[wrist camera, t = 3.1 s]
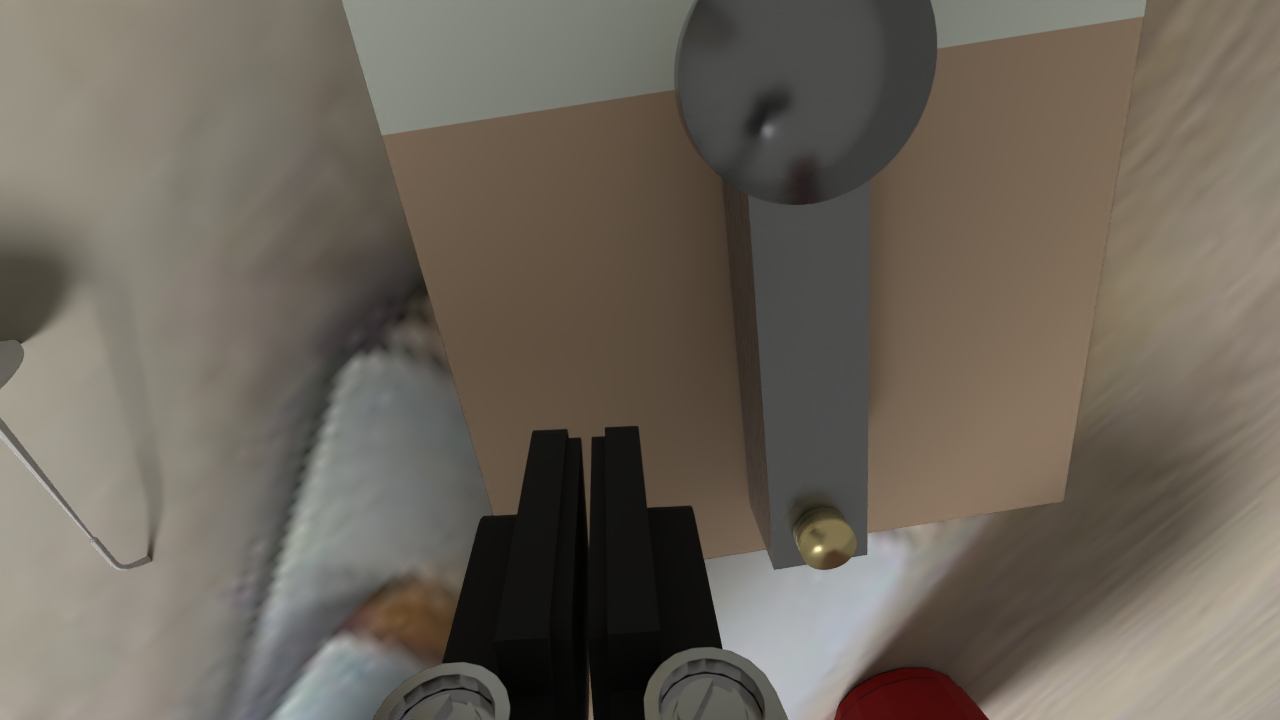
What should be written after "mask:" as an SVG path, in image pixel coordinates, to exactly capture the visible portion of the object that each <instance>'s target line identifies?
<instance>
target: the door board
mask: <svg viewBox="0 0 1280 720" xmlns="http://www.w3.org/2000/svg"><path fill="white" fill-rule="evenodd" d="M1146 1H1147V0H931V4H932V8H933V12H934V16H935V22H936V30H937V61H936V70H935V76H934V80H933V85H932V89H931V93H930V95H929V98H928V101H927V104H926V107H925V110H924V112H923V114H922V116H921V118H920V120H919V122H918V125H917V126H916V128H915V130H914V131H913V133H912V135H911V136H910V138H909V140H908V141H907V142H906V144H905V145H904V146H903V148H902V149H901V150H900V151H899V153H898V154H897V155H896V156H895V157H894V158H893V159H892V160H891V162H890V163H889V164H888V165H887V166H886V167H885V168H884V169H882V170H881V171H880V172H879V173H878V174H876V175H875V176H874V177H873V178H872V179H871V188H870V298H869V407H868V517H867V533H871V532H877V531H883V530H889V529H896V528H902V527H908V526H914V525H920V524H926V523H933V522H939V521H945V520H951V519H957V518H964V517H970V516H976V515H982V514H988V513H995V512H1001V511H1007V510H1013V509H1019V508H1026V507H1032V506H1038V505H1044V504H1050V503H1057V502H1063V500H1064V494H1065V488H1066V482H1067V476H1068V470H1069V464H1070V458H1071V452H1072V446H1073V440H1074V434H1075V428H1076V422H1077V416H1078V410H1079V404H1080V398H1081V392H1082V386H1083V380H1084V374H1085V368H1086V362H1087V356H1088V350H1089V344H1090V338H1091V332H1092V326H1093V320H1094V314H1095V308H1096V302H1097V296H1098V290H1099V284H1100V278H1101V272H1102V266H1103V260H1104V254H1105V248H1106V242H1107V236H1108V230H1109V224H1110V218H1111V212H1112V206H1113V200H1114V194H1115V187H1116V181H1117V175H1118V169H1119V163H1120V157H1121V151H1122V145H1123V139H1124V133H1125V127H1126V121H1127V115H1128V109H1129V103H1130V97H1131V91H1132V85H1133V79H1134V73H1135V67H1136V61H1137V55H1138V49H1139V43H1140V37H1141V31H1142V25H1143V19H1144V13H1145V7H1146ZM693 2H694V0H342V3H343V6H344V9H345V13H346V16H347V20H348V23H349V26H350V30H351V33H352V37H353V40H354V43H355V47H356V50H357V53H358V57H359V60H360V64H361V67H362V70H363V74H364V77H365V81H366V84H367V87H368V91H369V94H370V98H371V101H372V104H373V108H374V111H375V115H376V118H377V121H378V125H379V128H380V132H381V135H382V138H383V142H384V145H385V148H386V152H387V155H388V159H389V162H390V165H391V169H392V172H393V176H394V179H395V182H396V186H397V189H398V193H399V196H400V199H401V203H402V206H403V210H404V213H405V216H406V220H407V223H408V227H409V230H410V233H411V237H412V240H413V243H414V247H415V250H416V254H417V257H418V260H419V264H420V267H421V271H422V274H423V277H424V281H425V284H426V288H427V291H428V294H429V298H430V301H431V305H432V308H433V311H434V315H435V318H436V322H437V325H438V328H439V332H440V335H441V338H442V342H443V345H444V349H445V352H446V355H447V359H448V362H449V366H450V369H451V372H452V376H453V379H454V383H455V386H456V389H457V393H458V396H459V400H460V403H461V406H462V410H463V413H464V416H465V420H466V423H467V427H468V430H469V433H470V437H471V440H472V444H473V447H474V450H475V454H476V457H477V461H478V464H479V467H480V471H481V474H482V478H483V481H484V484H485V488H486V491H487V495H488V498H489V501H490V505H491V508H492V511H493V515H494V516H495V515H514V514H517V512H518V506H519V501H520V495H521V490H522V484H523V479H524V474H525V468H526V463H527V457H528V452H529V446H530V441H531V435H532V431H534V430H554V429H567V430H568V435H569V438H577V437H581V441H582V454H583V468H584V483H585V498H586V512H587V527H588V542H589V531H590V486H591V441H592V437H599V436H605V427H620V426H638V427H639V435H640V445H641V454H642V463H643V473H644V482H645V492H646V501H647V508H651V507H670V506H690V505H691V506H692V508H693V511H694V515H695V519H696V524H697V529H698V534H699V539H700V543H701V548H702V553H703V558H704V559H710V558H716V557H722V556H728V555H735V554H741V553H747V552H753V551H759V550H765V549H766V547H765V544H764V541H763V539H762V536H761V533H760V531H759V528H758V525H757V523H756V520H755V517H754V515H753V512H752V509H751V507H750V501H749V489H748V477H747V466H746V454H745V442H744V431H743V419H742V408H741V396H740V384H739V373H738V361H737V349H736V338H735V326H734V314H733V303H732V291H731V279H730V268H729V256H728V244H727V233H726V221H725V209H724V198H723V186H722V178H721V177H720V176H719V175H717V174H716V173H715V172H714V171H713V170H712V169H711V168H710V167H709V166H708V165H706V163H705V162H704V161H703V160H702V158H701V157H700V156H699V155H698V154H697V152H696V151H695V149H694V147H693V146H692V144H691V142H690V141H689V139H688V137H687V135H686V132H685V130H684V128H683V126H682V123H681V119H680V116H679V113H678V109H677V104H676V98H675V91H674V65H675V55H676V50H677V44H678V39H679V36H680V33H681V30H682V27H683V23H684V21H685V19H686V16H687V14H688V12H689V10H690V8H691V5H692V4H693Z"/></svg>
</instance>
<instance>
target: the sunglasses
mask: <svg viewBox="0 0 1280 720" xmlns="http://www.w3.org/2000/svg"><path fill="white" fill-rule="evenodd" d="M23 357H24V350H23V348H22V346H21V344H20V343H19V342H18V341H17V340H8V341H0V389H1V388H2V387H3V386H4V385H5V384H6V383H7V382H8V381H9V380H10V379H11V377H12V376H13V375H14V373H15V372H16V371H17V369H18V368H19V366H20V365H21V363H22V361H23ZM0 438H1V439H2V440H3V441H4V442H5V443H6V444H7V446H8V447H9V448H10V449H11V450H12V451H13V452H14V453H15V455H16V456H17V457H18V458H19V459H20V460H21V461H22V462H23V464H24V465H25V466H26V467H27V468H28V469H29V470H30V471H31V473H32V474H33V475H34V476H35V477H36V478H37V479H38V480H39V482H40V483H41V484H42V485H43V486H44V487H45V488H46V489H47V490H48V492H49V493H50V494H51V495H52V496H53V497H54V498H55V499H56V501H57V502H58V503H59V504H60V505H61V506H62V507H63V508H64V510H65V511H66V512H67V513H68V514H69V515H70V516H71V517H72V519H73V520H74V521H75V522H76V523H77V524H78V525H79V526H80V528H81V529H82V530H83V531H84V532H85V533H86V534H87V535H88V537H89V538H90V542H91V544H92V545H93V546H94V547H95V548H96V549H97V550H98V551H99V553H100V554H101V555H102V556H103V557H104V558H105V559H106V560H107V562H108V563H109V564H110V565H111V566H112V567H114V568H115V569H118V570H129V569H132V568H135V567H139V566H141V565H144V564H147V563H149V562H151V561H152V560H151V558H150V557H149V556H146V557H144V558H142V559H140V560H138V561H135V562H133V563H131V564H128V565H122V564H120V563H118V562H117V561H116V560H115V558H114V557H113V556H112V555H111V554H110V552H109V551H108V550H107V549H106V548H105V546H104V545H103V544H102V543H101V542H100V540H99V539H98V538H97V537H93V536H92V534H91V533H90V532H89V531H88V529H87V528H86V527H85V525H84V524H83V523H82V522H81V520H80V519H79V518H78V516H77V515H76V514H75V513H74V511H73V510H72V509H71V507H70V506H69V505H68V504H67V502H66V501H65V500H64V498H63V497H62V496H61V495H60V493H59V492H58V491H57V489H56V488H55V487H54V486H53V484H52V483H51V482H50V480H49V479H48V478H47V477H46V475H45V474H44V473H43V471H42V470H41V469H40V468H39V466H38V465H37V464H36V462H35V461H34V460H33V459H32V457H31V456H30V455H29V453H28V452H27V451H26V450H25V448H24V447H23V446H22V444H21V443H20V442H19V441H18V439H17V438H16V437H15V435H14V434H13V433H12V432H11V430H10V429H9V428H8V427H7V425H6V424H5V423H4V421H3V420H2V419H1V418H0Z"/></svg>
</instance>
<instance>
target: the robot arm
mask: <svg viewBox="0 0 1280 720" xmlns="http://www.w3.org/2000/svg"><path fill="white" fill-rule="evenodd" d="M589 664H590V677H591V690H592V704H593V717H594V720H788V718H787V715H786V713H785V711H784V709H783V706H782V704H781V702H780V700H779V698H778V695H777V693H776V691H775V689H774V688H773V686H772V685H771V683H770V681H769V680H768V678H767V677H766V675H765V674H764V673H763V672H762V671H761V670H760V669H759V668H758V667H756V666H755V665H754V664H753V663H752V662H751V661H750V660H748V659H746V658H744V657H742V656H740V655H738V654H736V653H734V652H732V651H728V650H723V649H722V644H721V639H720V634H719V630H718V625H717V620H716V615H715V610H714V606H713V601H712V596H711V591H710V587H709V582H708V577H707V572H706V567H705V563H704V558H703V553H702V548H701V543H700V539H699V534H698V529H697V524H696V519H695V515H694V511H693V508H692V506H691V505H690V506H670V507H651V508H647V501H646V492H645V482H644V473H643V463H642V454H641V445H640V435H639V427H638V426H620V427H605V436H599V437H592V441H591V486H590V531H589V542H588V527H587V512H586V498H585V483H584V468H583V454H582V441H581V437H577V438H569V435H568V430H567V429H554V430H534V431H532V435H531V441H530V446H529V452H528V457H527V463H526V468H525V474H524V479H523V484H522V490H521V495H520V501H519V506H518V512H517V514H514V515H495V516H483V517H482V518H481V520H480V522H479V525H478V529H477V532H476V536H475V540H474V544H473V548H472V552H471V555H470V559H469V563H468V567H467V571H466V574H465V578H464V582H463V586H462V590H461V594H460V597H459V601H458V605H457V609H456V613H455V616H454V620H453V624H452V628H451V632H450V636H449V639H448V643H447V647H446V651H445V655H444V658H443V662H442V664H441V665H438V666H435V667H432V668H429V669H426V670H423V671H421V672H419V673H418V674H416V675H414V676H413V677H411V678H409V679H408V680H406V681H404V682H403V683H402V684H401V685H400V686H399V687H398V688H396V689H395V690H394V691H393V692H392V693H391V694H390V695H389V696H388V697H387V698H386V699H385V701H384V702H383V704H382V705H381V707H380V708H379V710H378V711H377V713H376V714H375V716H374V717H373V719H372V720H588V715H589Z"/></svg>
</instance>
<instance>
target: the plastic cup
mask: <svg viewBox="0 0 1280 720" xmlns="http://www.w3.org/2000/svg"><path fill="white" fill-rule="evenodd" d="M835 720H989V719H988V718H987V717H986V715H985V714H984V713H983V712H982V711H981V709H980V708H979V707H978V706H977V705H976V703H975V702H974V701H973V700H972V699H971V698H970V697H969V696H968V695H967V693H966V692H965V691H964V690H963V689H962V688H961V687H960V686H957V685H956V684H955V683H954V682H953V681H952V680H951V678H950V677H949V676H948V675H945V674H942V673H939V672H936V671H934V670H931V669H928V668H901V669H898V670H894V671H891V672H887V673H883V674H880V675H876V676H874V677H873V678H871V679H869V680H868V681H866V682H864V683H863V684H861V685H859V686H858V687H856V688H854V689H853V690H852V691H851V693H850V694H849V695H848V696H847V697H846V698H845V699H844V701H843V702H842V703H841V704H840V705H839V707H838V710H837V714H836V717H835Z"/></svg>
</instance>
